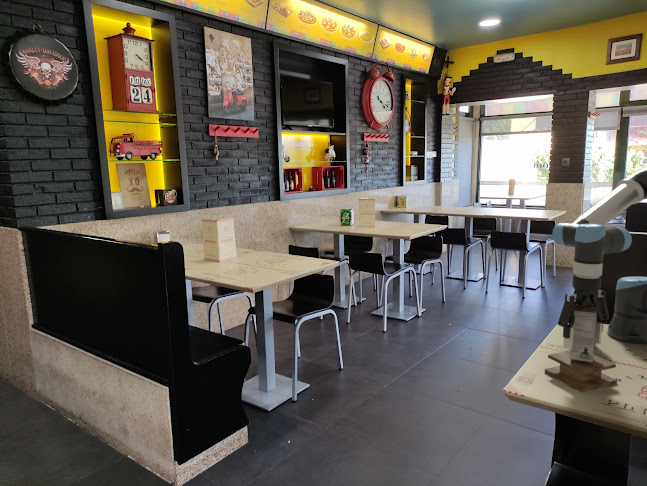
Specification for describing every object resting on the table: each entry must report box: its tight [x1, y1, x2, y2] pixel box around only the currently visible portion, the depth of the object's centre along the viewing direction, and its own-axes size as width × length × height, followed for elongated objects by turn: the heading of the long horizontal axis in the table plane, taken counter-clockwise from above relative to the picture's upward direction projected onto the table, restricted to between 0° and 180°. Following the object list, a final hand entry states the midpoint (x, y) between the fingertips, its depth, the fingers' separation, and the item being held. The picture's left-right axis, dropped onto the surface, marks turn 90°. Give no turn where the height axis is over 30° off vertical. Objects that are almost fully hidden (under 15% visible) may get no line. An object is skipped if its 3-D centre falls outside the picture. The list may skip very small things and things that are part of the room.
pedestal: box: [544, 349, 618, 393], centre depth 143 cm, size 14×14×6 cm
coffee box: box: [569, 304, 597, 362], centre depth 141 cm, size 9×6×16 cm
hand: (582, 345), depth 142 cm, fingers closed on coffee box, 11 cm apart
